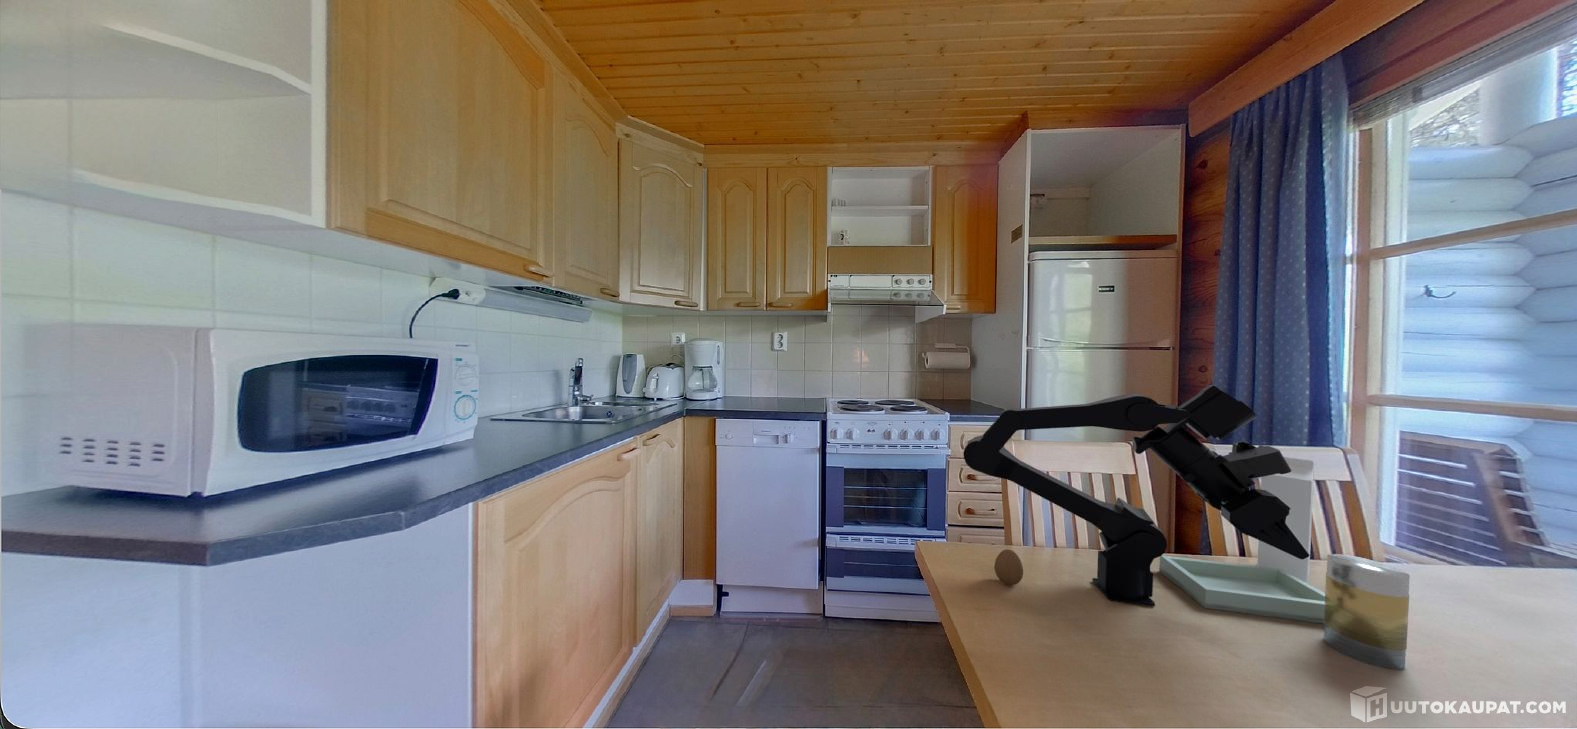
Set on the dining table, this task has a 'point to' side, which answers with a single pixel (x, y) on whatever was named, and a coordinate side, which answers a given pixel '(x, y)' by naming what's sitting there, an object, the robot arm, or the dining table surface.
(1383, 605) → the tin can
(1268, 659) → the dining table surface
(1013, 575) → the egg
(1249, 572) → the pale green tray
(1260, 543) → the milk
